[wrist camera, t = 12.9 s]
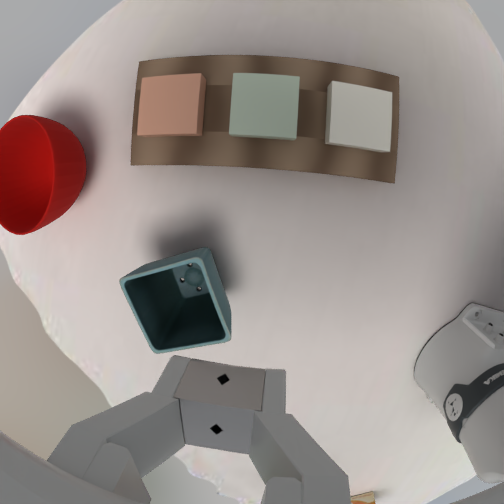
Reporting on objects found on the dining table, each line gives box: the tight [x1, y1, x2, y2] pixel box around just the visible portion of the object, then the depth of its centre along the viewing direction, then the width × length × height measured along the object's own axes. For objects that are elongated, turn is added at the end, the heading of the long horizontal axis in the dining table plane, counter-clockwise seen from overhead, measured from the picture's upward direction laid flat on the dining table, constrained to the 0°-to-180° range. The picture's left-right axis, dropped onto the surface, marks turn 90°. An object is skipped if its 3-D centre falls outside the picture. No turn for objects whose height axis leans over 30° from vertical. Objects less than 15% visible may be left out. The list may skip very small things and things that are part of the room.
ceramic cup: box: [0, 115, 86, 235], centre depth 28 cm, size 13×17×10 cm
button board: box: [131, 55, 399, 183], centre depth 28 cm, size 28×12×2 cm, turn 87°
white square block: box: [325, 81, 392, 152], centre depth 26 cm, size 6×6×5 cm
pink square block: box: [137, 73, 206, 137], centre depth 27 cm, size 6×6×5 cm
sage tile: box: [229, 73, 300, 140], centre depth 26 cm, size 6×6×5 cm
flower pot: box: [119, 247, 231, 354], centre depth 31 cm, size 9×9×9 cm
